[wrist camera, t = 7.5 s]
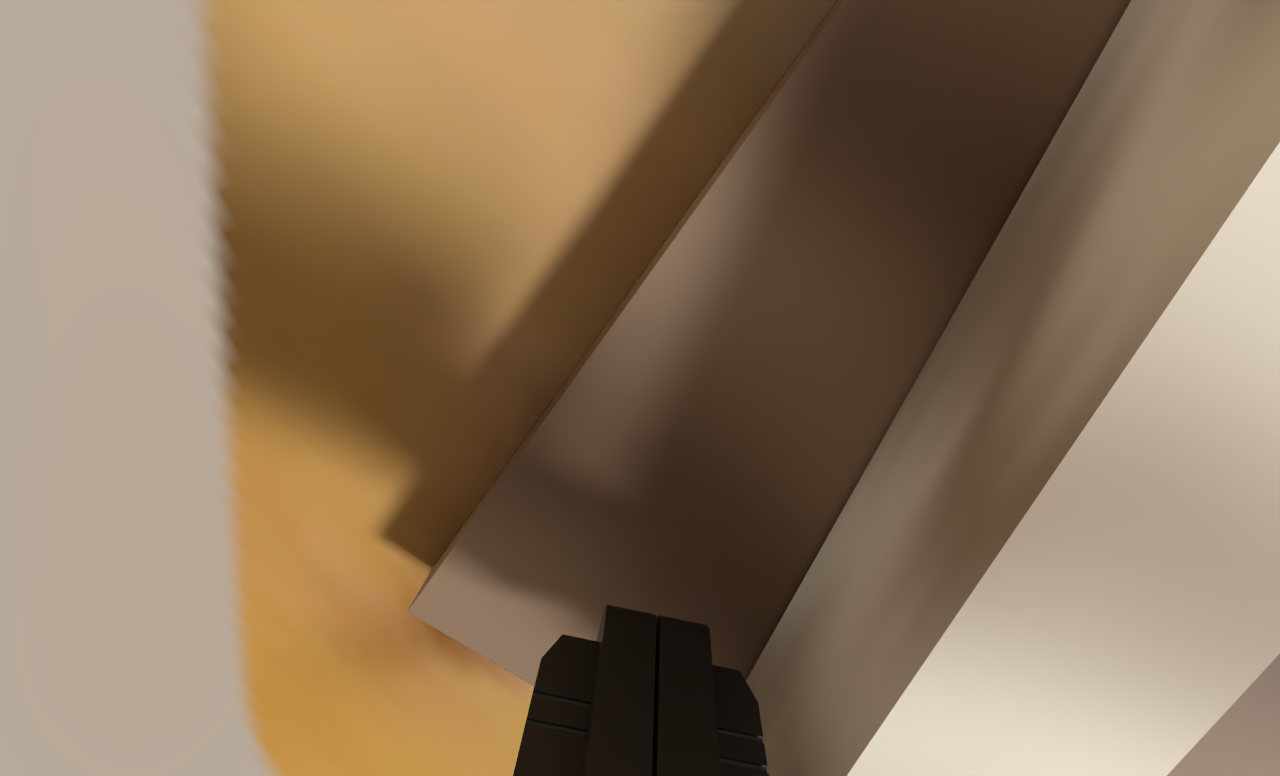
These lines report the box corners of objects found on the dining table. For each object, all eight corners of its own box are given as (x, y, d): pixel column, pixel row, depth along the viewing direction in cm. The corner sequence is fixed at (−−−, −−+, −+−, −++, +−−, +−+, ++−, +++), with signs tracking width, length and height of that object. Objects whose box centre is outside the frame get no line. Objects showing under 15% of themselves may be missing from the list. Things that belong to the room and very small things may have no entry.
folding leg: (1376, -434, 7) (2247, -1133, 3) (1646, -301, 7) (2781, -797, 3) (724, 719, 12) (737, 983, 8) (883, 775, 12) (963, 1057, 9)
